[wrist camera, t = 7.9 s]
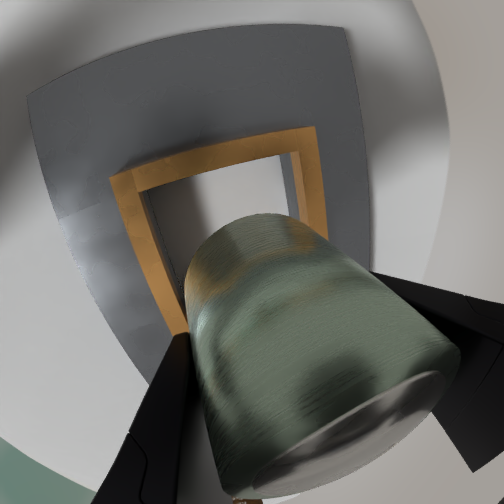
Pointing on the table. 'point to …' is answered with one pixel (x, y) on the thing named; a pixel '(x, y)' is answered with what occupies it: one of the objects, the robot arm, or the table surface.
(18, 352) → the table surface
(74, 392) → the table surface
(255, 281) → the can
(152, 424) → the robot arm
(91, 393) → the table surface
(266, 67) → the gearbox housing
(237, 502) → the utensil holder
